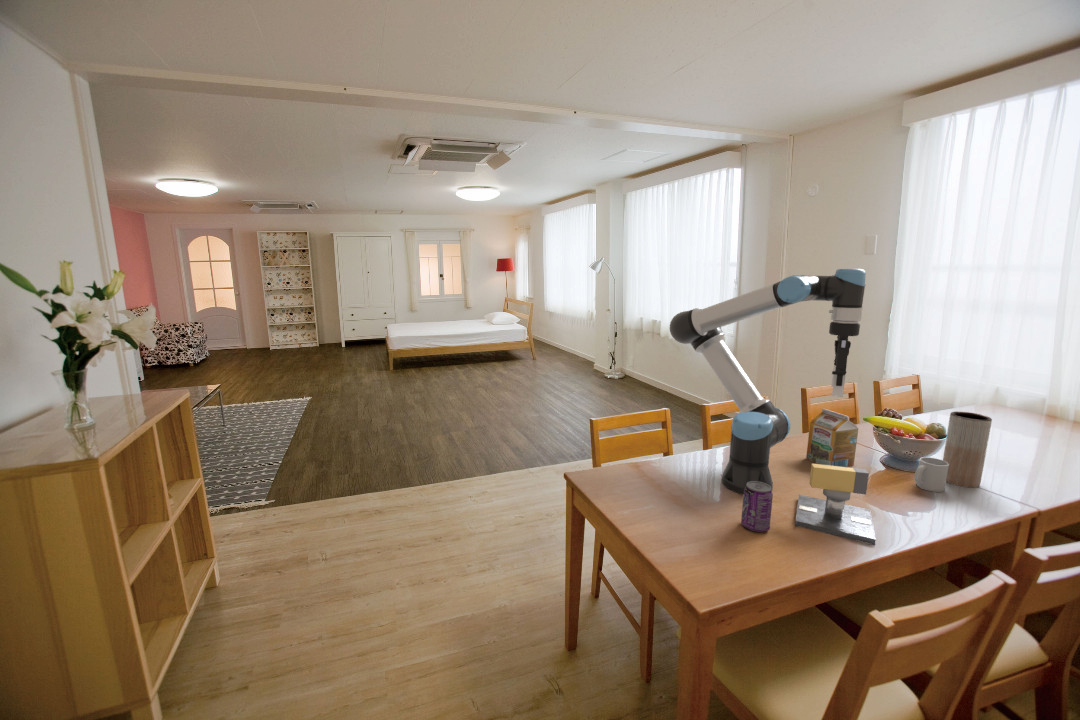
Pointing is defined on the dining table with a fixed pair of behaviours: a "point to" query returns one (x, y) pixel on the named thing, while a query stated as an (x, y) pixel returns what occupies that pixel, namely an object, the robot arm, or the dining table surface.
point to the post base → (835, 518)
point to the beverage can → (757, 506)
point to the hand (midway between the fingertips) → (836, 391)
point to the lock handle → (838, 481)
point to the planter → (966, 448)
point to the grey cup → (931, 474)
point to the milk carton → (832, 439)
